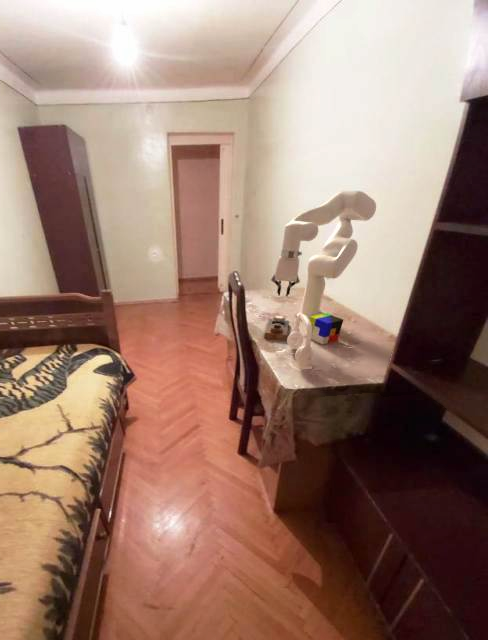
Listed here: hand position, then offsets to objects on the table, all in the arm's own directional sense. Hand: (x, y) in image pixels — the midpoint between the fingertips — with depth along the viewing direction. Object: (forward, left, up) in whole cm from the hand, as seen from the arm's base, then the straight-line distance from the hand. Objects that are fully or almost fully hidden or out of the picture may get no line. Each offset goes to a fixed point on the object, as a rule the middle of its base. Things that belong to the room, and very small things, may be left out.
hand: (282, 295), depth 153 cm
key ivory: (0, 0, -13) cm, 13 cm away
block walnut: (0, +12, -16) cm, 20 cm away
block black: (0, 0, -16) cm, 16 cm away
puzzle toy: (-21, +9, -16) cm, 28 cm away
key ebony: (0, +12, -12) cm, 17 cm away
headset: (-11, +34, -16) cm, 39 cm away
